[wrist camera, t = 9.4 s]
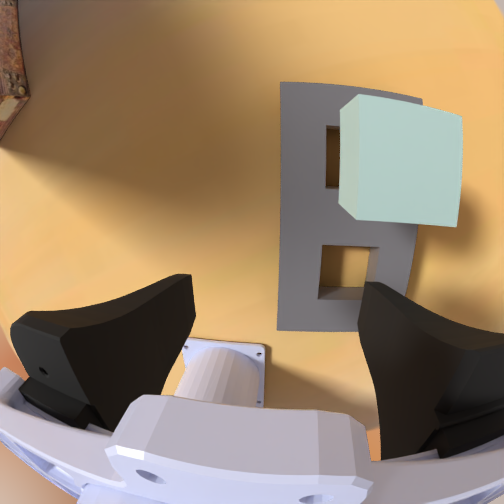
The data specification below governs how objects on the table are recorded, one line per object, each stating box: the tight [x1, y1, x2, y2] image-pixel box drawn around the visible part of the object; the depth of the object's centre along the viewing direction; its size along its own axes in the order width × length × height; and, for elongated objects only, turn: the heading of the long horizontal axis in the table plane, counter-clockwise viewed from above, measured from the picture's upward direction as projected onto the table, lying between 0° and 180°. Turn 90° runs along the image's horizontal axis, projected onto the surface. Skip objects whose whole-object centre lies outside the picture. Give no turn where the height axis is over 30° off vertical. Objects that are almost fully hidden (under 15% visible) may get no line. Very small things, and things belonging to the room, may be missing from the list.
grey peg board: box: [277, 82, 423, 332], centre depth 19 cm, size 18×10×2 cm, turn 1°
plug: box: [338, 94, 463, 227], centre depth 11 cm, size 4×4×6 cm
